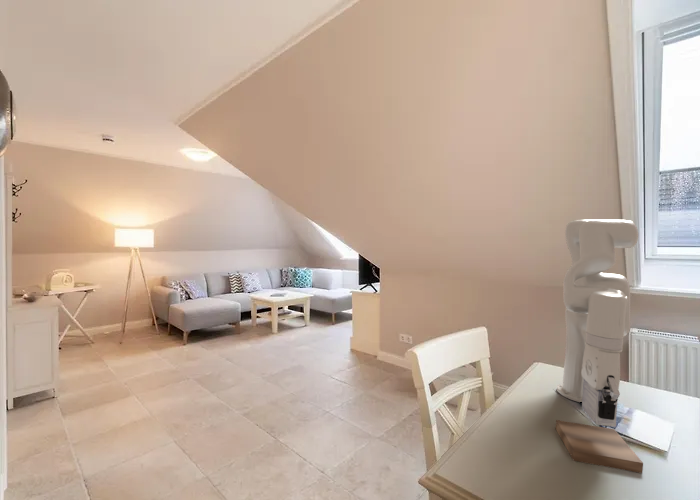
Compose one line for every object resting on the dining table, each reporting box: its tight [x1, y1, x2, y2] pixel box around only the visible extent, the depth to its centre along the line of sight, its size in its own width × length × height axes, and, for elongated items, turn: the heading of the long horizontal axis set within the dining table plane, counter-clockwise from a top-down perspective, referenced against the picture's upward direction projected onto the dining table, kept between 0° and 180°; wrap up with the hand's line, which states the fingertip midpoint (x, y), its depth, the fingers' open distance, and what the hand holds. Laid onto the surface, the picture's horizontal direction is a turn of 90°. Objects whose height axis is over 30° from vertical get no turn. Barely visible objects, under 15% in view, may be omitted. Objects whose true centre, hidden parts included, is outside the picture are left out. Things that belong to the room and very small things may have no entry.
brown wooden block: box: [555, 419, 644, 474], centre depth 88 cm, size 14×14×2 cm
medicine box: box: [581, 379, 618, 428], centre depth 87 cm, size 8×4×9 cm, turn 168°
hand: (598, 409), depth 87 cm, fingers closed on medicine box, 8 cm apart
